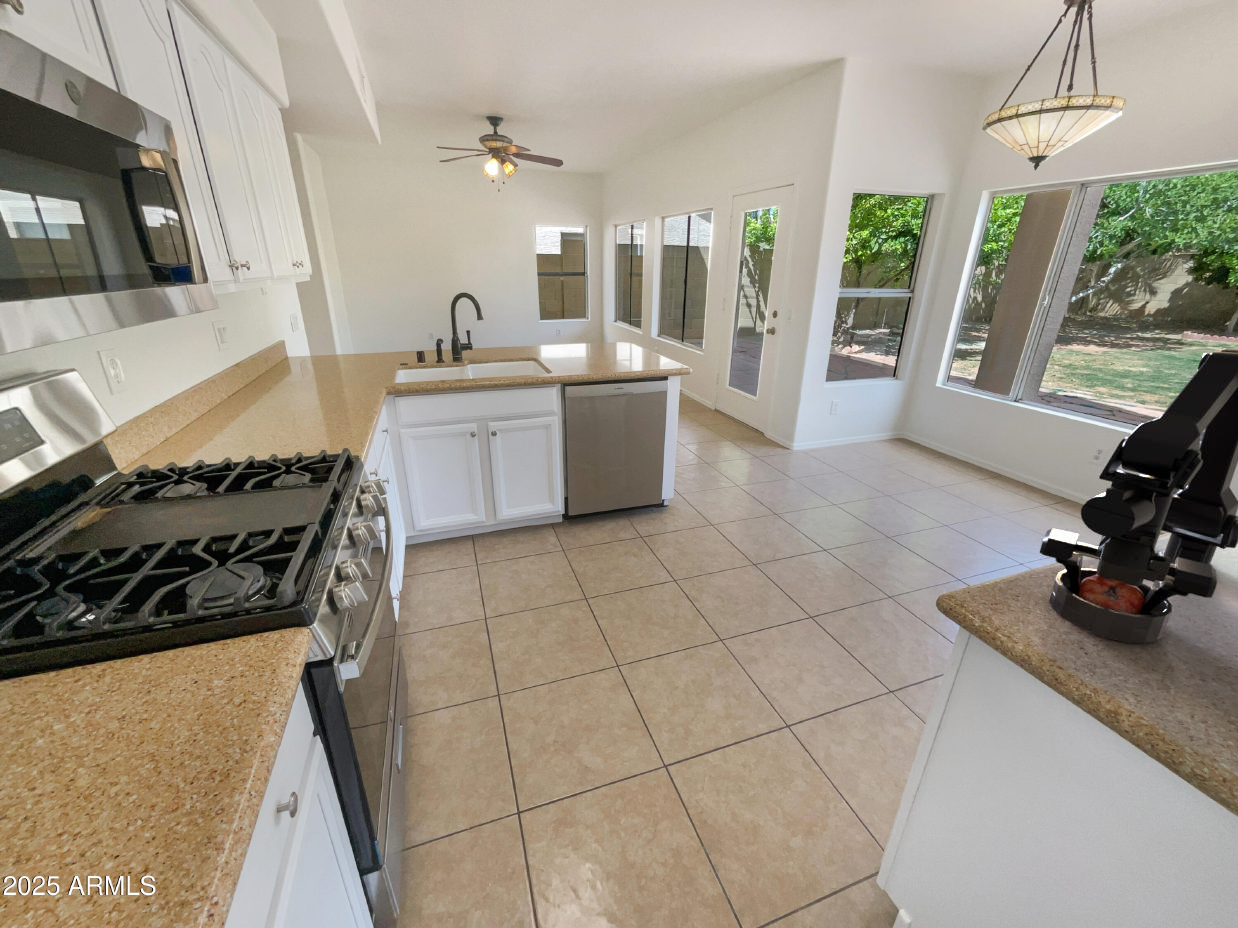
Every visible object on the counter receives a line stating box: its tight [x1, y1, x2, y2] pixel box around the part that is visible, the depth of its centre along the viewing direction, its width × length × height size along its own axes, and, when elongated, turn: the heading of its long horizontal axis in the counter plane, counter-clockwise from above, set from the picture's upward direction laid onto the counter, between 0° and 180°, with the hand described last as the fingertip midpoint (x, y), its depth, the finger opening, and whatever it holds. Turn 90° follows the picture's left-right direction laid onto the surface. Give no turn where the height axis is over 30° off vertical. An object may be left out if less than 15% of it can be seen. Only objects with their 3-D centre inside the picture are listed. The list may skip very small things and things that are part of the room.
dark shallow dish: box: [1048, 567, 1173, 644], centre depth 80 cm, size 13×13×5 cm
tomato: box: [1078, 574, 1144, 615], centre depth 80 cm, size 7×7×10 cm
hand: (1106, 606), depth 80 cm, fingers closed on tomato, 7 cm apart
